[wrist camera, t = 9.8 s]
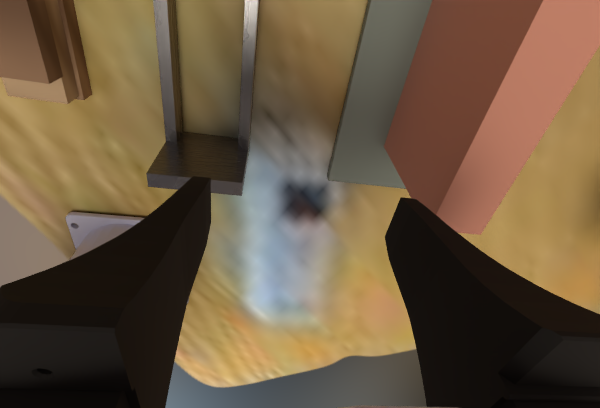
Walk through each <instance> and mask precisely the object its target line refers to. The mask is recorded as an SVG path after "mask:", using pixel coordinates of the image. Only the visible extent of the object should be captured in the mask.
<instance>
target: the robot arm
mask: <svg viewBox="0 0 600 408" xmlns="http://www.w3.org/2000/svg"><path fill="white" fill-rule="evenodd" d="M66 222H67V225H68V228H69V231H70V234H71V237H72V240H73V243H74V246H75V249H76V251H75V253H74V254H73V255H72V257H71V258H70V260H69V261H67V262H65V263H62V264H60V265H57V266H55V267H53V268H50V269H48V270H45V271H42V272H39V273H37V274H34V275H31V276H29V277H26V278H23V279H20V280H17V281H14V282H12V283H8V284H5V285H2V286H1V287H0V408H165V405H166V400H167V395H168V389H169V384H170V380H171V375H172V369H173V364H174V359H175V355H176V350H177V345H178V341H179V336H180V331H181V327H182V322H183V318H184V313H185V309H186V305H187V303H188V301H189V295H190V292H191V289H192V286H193V283H194V280H195V277H196V274H197V271H198V268H199V265H200V263H201V260H202V257H203V254H204V251H205V247H206V244H207V239H208V234H209V229H210V224H211V178H207V177H197V176H193V177H192V178H190V179H189V180H188V181H187V182H186V183H185V184H184V185H183V186H182V187H181V188H180V189H179V190H178V191H177V192H175V193H174V194H173V195H172V196H171V197H170V198H169V199H168V200H166V201H165V202H164V203H163V204H162V205H161V206H160V207H158V208H157V209H156V210H155V211H153V212H152V213H151V214H149V215H148V216H147V217H145V218H140V217H128V216H116V215H105V214H93V213H81V212H70V213H68V215H67V216H66ZM75 223H76V224H77V225H76V224H75ZM385 240H386V246H387V251H388V256H389V260H390V263H391V266H392V269H393V272H394V275H395V278H396V281H397V283H398V286H399V289H400V292H401V294H402V297H403V300H404V303H405V306H406V308H407V312H408V315H409V318H410V322H411V326H412V331H413V335H414V339H415V343H416V348H417V353H418V358H419V362H420V367H421V374H422V379H423V385H424V390H425V397H426V404H427V407H409V406H350V407H339V408H600V314H597V313H595V312H592V311H590V310H588V309H585V308H583V307H580V306H578V305H576V304H574V303H571V302H569V301H567V300H565V299H563V298H561V297H559V296H557V295H555V294H553V293H551V292H549V291H547V290H545V289H543V288H541V287H539V286H537V285H535V284H533V283H532V282H530V281H528V280H526V279H525V278H523V277H521V276H519V275H517V274H516V273H514V272H512V271H511V270H509V269H507V268H506V267H504V266H503V265H501V264H500V263H498V262H497V261H495V260H494V259H492V258H490V257H489V256H488V255H486V254H485V253H483V252H482V251H480V250H479V249H478V248H476V247H475V246H474V245H472V244H471V243H470V242H468V241H467V240H466V239H465V238H463V237H462V236H461V235H460V234H458V233H457V232H456V231H455V230H453V229H452V228H451V227H450V226H449V225H447V224H446V223H445V222H444V221H443V220H441V219H440V218H439V217H438V216H437V215H436V214H434V213H433V212H432V211H431V210H430V209H428V208H427V207H426V206H425V205H423V204H422V203H421V202H419V201H418V200H417V199H411V198H400V201H399V203H398V206H397V208H396V211H395V213H394V216H393V218H392V221H391V223H390V225H389V228H388V230H387V233H386V235H385Z"/></svg>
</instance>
